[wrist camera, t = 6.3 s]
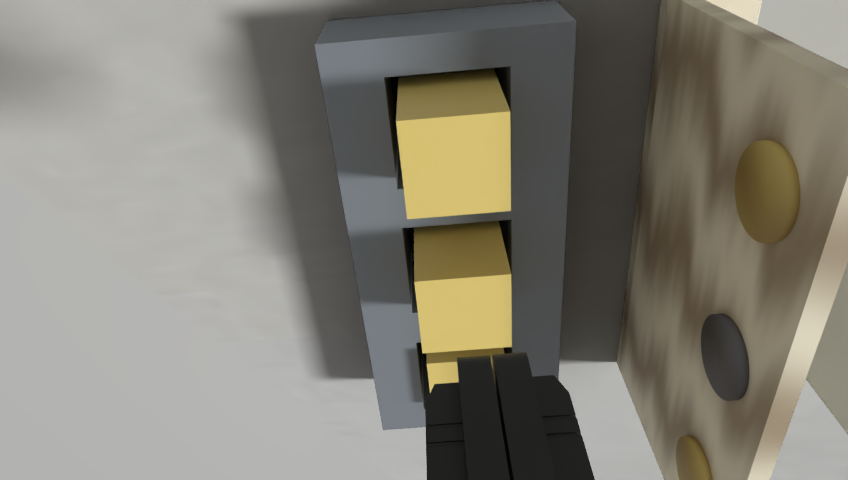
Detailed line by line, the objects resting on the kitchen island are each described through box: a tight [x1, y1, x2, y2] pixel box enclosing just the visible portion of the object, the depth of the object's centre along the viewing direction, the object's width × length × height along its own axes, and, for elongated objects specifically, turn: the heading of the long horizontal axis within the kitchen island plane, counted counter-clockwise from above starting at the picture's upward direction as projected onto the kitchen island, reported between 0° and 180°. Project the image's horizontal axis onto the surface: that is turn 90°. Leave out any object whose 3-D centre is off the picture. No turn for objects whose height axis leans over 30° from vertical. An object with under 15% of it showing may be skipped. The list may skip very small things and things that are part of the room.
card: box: [617, 0, 848, 480], centre depth 26 cm, size 22×4×14 cm, turn 5°
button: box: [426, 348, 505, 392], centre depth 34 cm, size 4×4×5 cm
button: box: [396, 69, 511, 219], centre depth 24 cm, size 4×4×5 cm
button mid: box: [414, 221, 512, 353], centre depth 28 cm, size 4×4×5 cm
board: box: [314, 0, 577, 430], centre depth 30 cm, size 22×10×4 cm, turn 5°
